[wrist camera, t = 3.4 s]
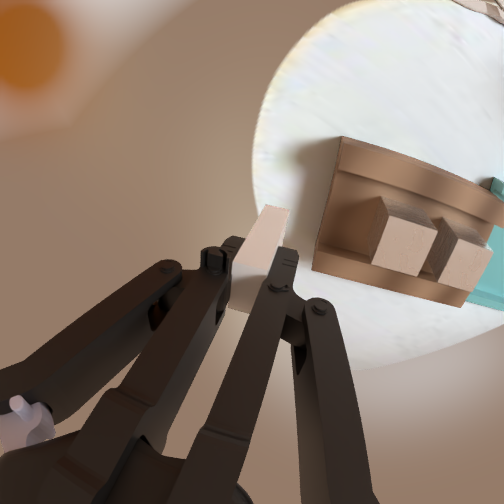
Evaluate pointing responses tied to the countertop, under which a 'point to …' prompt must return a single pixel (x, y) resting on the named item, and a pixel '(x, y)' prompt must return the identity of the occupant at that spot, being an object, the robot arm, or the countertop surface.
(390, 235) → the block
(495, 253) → the tray
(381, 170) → the groove board
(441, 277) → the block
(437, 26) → the countertop surface
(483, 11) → the pliers
